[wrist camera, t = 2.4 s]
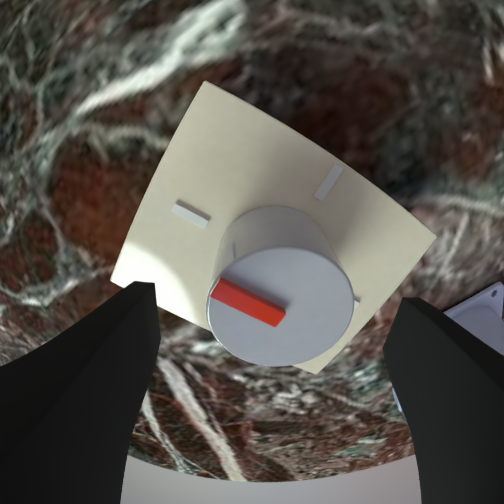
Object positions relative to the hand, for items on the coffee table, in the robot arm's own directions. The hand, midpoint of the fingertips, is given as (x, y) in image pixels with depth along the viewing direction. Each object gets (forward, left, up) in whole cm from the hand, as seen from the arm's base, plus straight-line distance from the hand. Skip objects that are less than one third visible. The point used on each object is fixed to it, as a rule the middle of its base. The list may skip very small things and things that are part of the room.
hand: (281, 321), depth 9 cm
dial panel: (0, 0, -7) cm, 7 cm away
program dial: (0, 0, -4) cm, 4 cm away
